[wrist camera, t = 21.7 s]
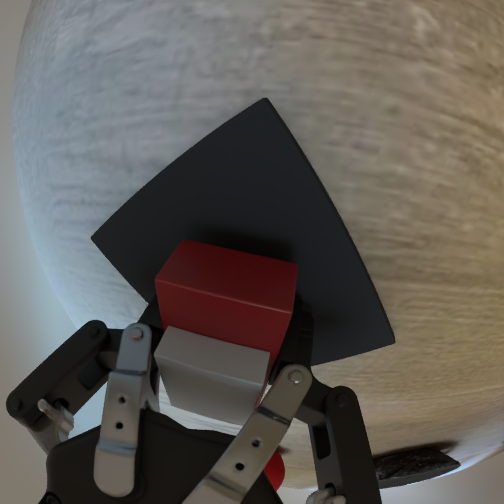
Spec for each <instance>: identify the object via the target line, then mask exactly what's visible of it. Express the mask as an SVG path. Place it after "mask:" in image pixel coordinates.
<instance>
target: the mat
mask: <svg viewBox="0 0 504 504" xmlns="http://www.w3.org/2000/svg"><path fill="white" fill-rule="evenodd" d="M183 239H186V240H191V241H195V242H200V243H204V244H209V245H214V246H218V247H223V248H227V249H232V250H237V251H241V252H246V253H250V254H255V255H260V256H264V257H269V258H273V259H278V260H283V261H287V262H292V263H296V264H298V266H299V268H298V276H297V284H296V292H295V298H296V299H301V300H302V311H305V312H310V313H311V314H312V317H313V319H314V331H313V332H314V334H313V346H312V357H311V366H314V365H319V364H323V363H327V362H331V361H335V360H339V359H343V358H347V357H351V356H354V355H358V354H362V353H365V352H369V351H372V350H375V349H378V348H382V347H385V346H388V345H391V344H394V343H395V336H394V333H393V331H392V328H391V326H390V323H389V321H388V318H387V316H386V313H385V311H384V308H383V306H382V304H381V301H380V299H379V296H378V294H377V292H376V290H375V287H374V285H373V283H372V281H371V278H370V276H369V274H368V272H367V270H366V267H365V265H364V263H363V261H362V259H361V257H360V255H359V253H358V251H357V249H356V247H355V245H354V243H353V241H352V239H351V237H350V235H349V233H348V231H347V229H346V227H345V225H344V223H343V221H342V219H341V217H340V215H339V214H338V212H337V210H336V208H335V206H334V204H333V202H332V201H331V199H330V197H329V195H328V193H327V192H326V190H325V188H324V186H323V185H322V183H321V181H320V179H319V178H318V176H317V174H316V173H315V171H314V169H313V168H312V166H311V164H310V163H309V161H308V159H307V158H306V156H305V154H304V153H303V151H302V150H301V148H300V146H299V145H298V143H297V142H296V140H295V138H294V137H293V135H292V134H291V132H290V131H289V129H288V128H287V126H286V125H285V123H284V122H283V120H282V119H281V117H280V116H279V114H278V113H277V111H276V110H275V108H274V107H273V105H272V104H271V103H270V101H269V100H268V98H263V99H261V100H259V101H258V102H256V103H255V104H253V105H251V106H250V107H248V108H247V109H245V110H244V111H242V112H241V113H239V114H238V115H236V116H235V117H233V118H232V119H230V120H229V121H227V122H226V123H224V124H223V125H221V126H220V127H219V128H217V129H216V130H214V131H213V132H212V133H210V134H209V135H207V136H206V137H205V138H203V139H202V140H201V141H199V142H198V143H197V144H195V145H194V146H193V147H191V148H190V149H189V150H187V151H186V152H185V153H184V154H182V155H181V156H180V157H178V158H177V159H176V160H175V161H173V162H172V163H171V164H170V165H168V166H167V167H166V168H165V169H164V170H162V171H161V172H160V173H159V174H158V175H156V176H155V177H154V178H153V179H152V180H151V181H149V182H148V183H147V184H146V185H145V186H144V187H143V188H141V189H140V190H139V191H138V192H137V193H136V194H135V195H134V196H132V197H131V198H130V199H129V200H128V201H127V202H126V203H125V204H124V205H123V206H122V207H121V208H120V209H118V210H117V211H116V212H115V213H114V214H113V215H112V216H111V217H110V218H109V219H108V220H107V221H106V222H105V223H104V224H103V225H102V226H101V227H100V228H99V229H98V230H97V231H96V232H95V233H94V234H93V235H92V236H91V240H92V241H93V242H94V243H95V245H96V246H97V247H98V248H99V249H100V251H101V252H102V253H103V254H104V255H105V257H106V258H107V259H108V260H109V261H110V262H111V264H112V265H113V266H114V267H115V268H116V269H117V270H118V271H119V273H120V274H121V275H122V276H123V277H124V278H125V279H126V280H127V281H128V283H129V284H130V285H131V286H132V287H133V288H134V289H135V290H136V291H137V292H138V293H139V294H140V295H141V296H142V297H143V298H144V300H145V301H146V302H147V303H148V304H149V303H150V301H151V300H152V299H153V297H154V295H155V294H156V292H157V291H156V285H155V277H156V276H157V274H158V273H159V271H160V270H161V269H162V267H163V266H164V264H165V263H166V261H167V260H168V259H169V257H170V256H171V254H172V253H173V252H174V250H175V249H176V248H177V246H178V245H179V243H180V242H181V241H182V240H183Z"/></svg>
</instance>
